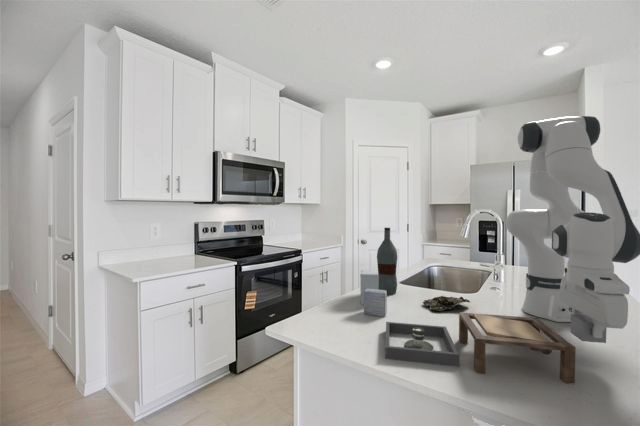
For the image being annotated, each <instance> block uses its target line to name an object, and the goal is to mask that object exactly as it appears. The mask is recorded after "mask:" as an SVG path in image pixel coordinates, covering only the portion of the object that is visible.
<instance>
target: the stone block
mask: <svg viewBox="0 0 640 426" xmlns="http://www.w3.org/2000/svg"><path fill="white" fill-rule="evenodd" d="M593 326H594V323H593V319H591V318H590V317H588V316H586V315H579V314H571V322H570V334H571V335H573V336H574V337H576V338H577V339H579V340H580V341H581V342H587V343H588V342H589V343H600V344H601V343H602V344H606V343H607V327H606V328H605V329H604V331H603V336H602V338H595V337H593V336H592V335H591V334H590V328H593Z"/></svg>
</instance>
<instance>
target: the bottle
mask: <svg viewBox="0 0 640 426" xmlns="http://www.w3.org/2000/svg"><path fill="white" fill-rule="evenodd" d="M383 229H384V233H383V235H384V238H383V239H384V240H383V241H382V242H381V244H380V245H379V247H378V249H377V251H376V260H377V261H376V262H377V271H378V275H379V290H386V291H387V296H392V295H395V294H396V293H397V290H398V278H397V267H398V266H397V265H398V252H397V247H396V246H395V244H394V243H393V242H392V240H391V227H384V228H383Z"/></svg>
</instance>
